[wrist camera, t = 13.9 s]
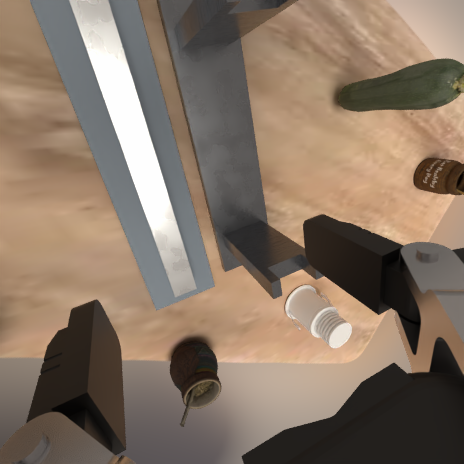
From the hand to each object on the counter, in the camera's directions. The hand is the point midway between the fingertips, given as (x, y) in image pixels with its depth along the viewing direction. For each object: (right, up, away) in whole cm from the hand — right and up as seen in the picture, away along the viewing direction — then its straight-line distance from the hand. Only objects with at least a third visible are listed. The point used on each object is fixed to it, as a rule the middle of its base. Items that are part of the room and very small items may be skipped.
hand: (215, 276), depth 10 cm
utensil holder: (+37, +13, +42) cm, 57 cm away
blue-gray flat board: (-10, +9, +22) cm, 26 cm away
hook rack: (0, +12, +25) cm, 28 cm away
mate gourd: (-7, -18, +35) cm, 40 cm away
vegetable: (+15, +21, +29) cm, 39 cm away
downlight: (+13, -11, +41) cm, 44 cm away
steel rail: (-10, +9, +22) cm, 25 cm away
